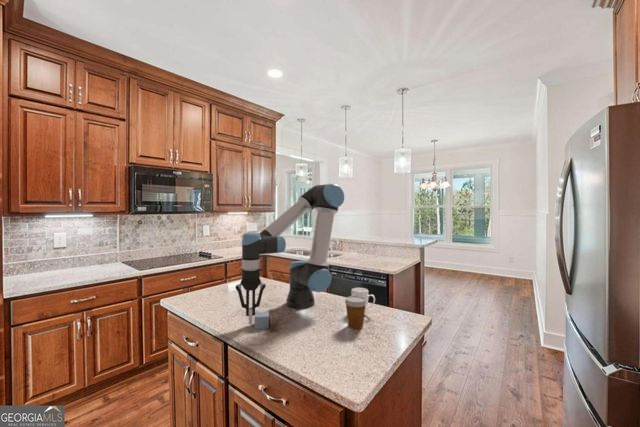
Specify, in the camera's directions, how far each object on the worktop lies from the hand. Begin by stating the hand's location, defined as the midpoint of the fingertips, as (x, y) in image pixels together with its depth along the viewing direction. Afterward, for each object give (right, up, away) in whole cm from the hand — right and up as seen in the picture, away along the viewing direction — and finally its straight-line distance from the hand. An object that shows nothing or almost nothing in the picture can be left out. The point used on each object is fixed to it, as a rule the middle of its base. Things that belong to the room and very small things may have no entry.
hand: (250, 323), depth 124 cm
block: (+5, -1, +1) cm, 5 cm away
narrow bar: (+10, -2, +2) cm, 10 cm away
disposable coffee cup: (+46, -2, +1) cm, 46 cm away
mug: (+51, -2, +17) cm, 54 cm away
